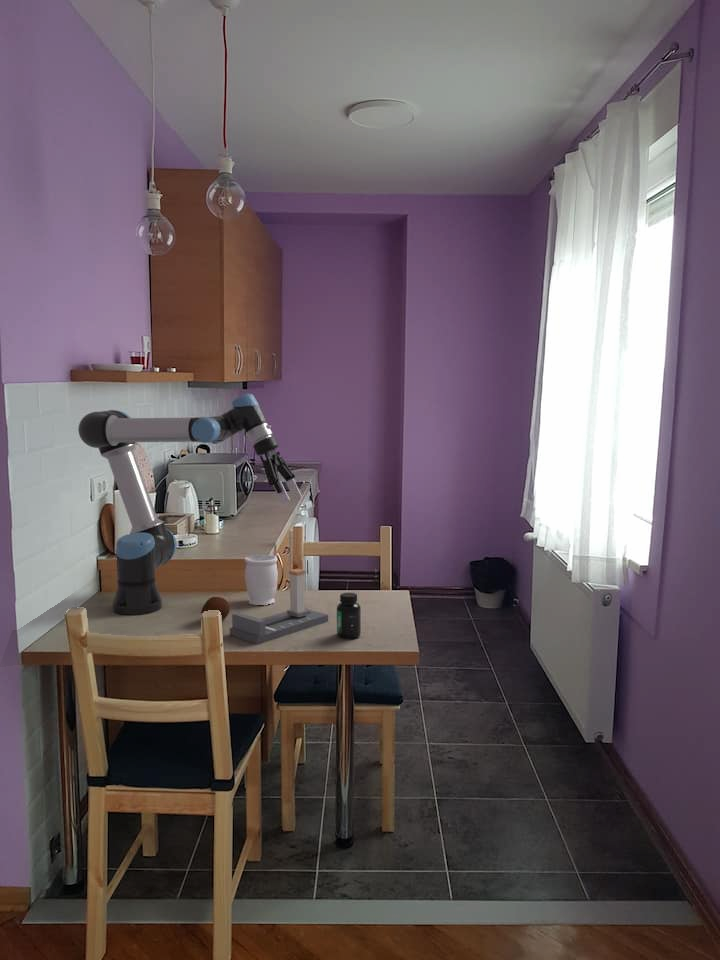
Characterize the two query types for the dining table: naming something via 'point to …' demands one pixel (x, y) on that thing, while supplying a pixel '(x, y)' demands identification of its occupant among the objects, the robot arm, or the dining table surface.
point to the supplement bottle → (348, 617)
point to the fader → (297, 593)
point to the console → (272, 625)
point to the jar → (261, 578)
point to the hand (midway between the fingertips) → (292, 500)
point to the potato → (217, 606)
